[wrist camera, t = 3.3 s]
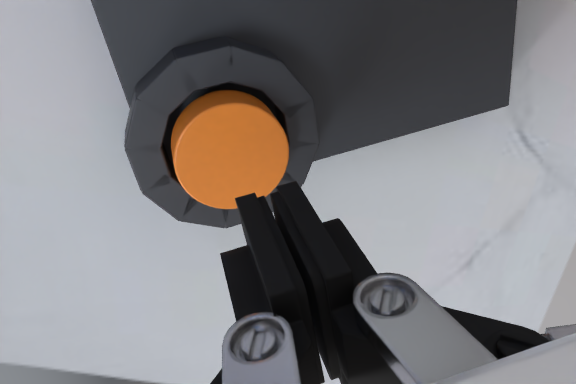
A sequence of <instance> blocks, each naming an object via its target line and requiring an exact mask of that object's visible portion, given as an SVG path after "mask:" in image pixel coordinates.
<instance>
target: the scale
mask: <svg viewBox="0 0 576 384" xmlns="http://www.w3.org/2000/svg"><path fill="white" fill-rule="evenodd" d="M91 2H92V5H93V8H94V10H95V13H96V16H97V19H98V21H99V24H100V27H101V30H102V32H103V35H104V38H105V41H106V43H107V46H108V49H109V52H110V55H111V57H112V60H113V63H114V66H115V68H116V71H117V74H118V77H119V79H120V82H121V85H122V88H123V90H124V93H125V96H126V99H127V102H128V104H129V107H130V112H129V116H128V120H127V125H126V129H125V151H126V154H127V156H128V159H129V161H130V164H131V167H132V169H133V172H134V174H135V177H136V180H137V182H138V185H139V187H140V190H141V191H142V193H143V194H144V195H145V196H146V197H148V198H149V199H150V200H152V201H153V202H154V203H156V204H157V205H158V206H159V207H161V208H162V209H163V210H165V211H166V212H167V213H169V214H170V215H171V216H173V217H174V218H175V219H177V220H178V221H182V222H188V223H195V224H201V225H207V226H214V227H220V228H228V227H232V226H235V225H238V224H242V223H241V220H240V216H239V212H238V209H237V208H236V209H220V208H214V207H210V206H208V205H205V204H203V203H201V202H199V201H197V200H196V199H194V198H193V197H191V196H190V195H189V194H188V193H187V192H186V191H185V190H184V188H183V187H182V186H181V184H180V182H179V181H178V178H177V176H176V173H175V169H174V164H173V157H172V151H171V135H172V130H173V127H174V125H175V122H176V120H177V118H178V117H179V115H180V114H181V112H182V111H183V110H184V109H185V108H186V107H187V106H188V105H189V104H190V103H191V102H193V101H194V100H196V99H197V98H199V97H201V96H203V95H205V94H207V93H210V92H214V91H219V90H237V91H242V92H245V93H248V94H250V95H252V96H254V97H256V98H258V99H259V100H260V101H262V102H263V103H264V104H265V105H266V106H267V107H268V108H269V109H270V111H271V112H272V113H273V115H274V116H275V117H276V119H277V120H278V122H279V123H280V124H281V126H282V128H283V129H284V131H285V134H286V136H287V140H288V144H289V159H288V164H287V168H286V171H285V173H284V175H283V177H282V179H281V181H280V182H279V184H278V185H277V186H279V185H283V184H286V183H290V182H293V181H297V183H298V184H299V186H300V187H301V186H302V184H304V182H305V179H306V177H307V174H308V172H309V169H310V167H311V164H312V162H313V161H316V160H319V159H323V158H326V157H330V156H333V155H337V154H340V153H344V152H347V151H351V150H354V149H358V148H361V147H365V146H368V145H372V144H375V143H379V142H382V141H386V140H389V139H393V138H396V137H400V136H403V135H407V134H410V133H414V132H417V131H421V130H424V129H428V128H431V127H435V126H439V125H442V124H446V123H449V122H453V121H456V120H460V119H463V118H467V117H470V116H474V115H477V114H481V113H484V112H488V111H491V110H495V109H498V108H502V107H505V106H508V105H509V94H510V82H511V70H512V57H513V45H514V33H515V20H516V8H517V0H91ZM274 192H277V191H276V187H275V188H274V189H273V191H272V192H271V193H274ZM271 193H269V194H268V195H267V196H266V197H265V198H266V200H267V203H268V205H269V207H270V209H271V211H272V212H273V207H272V203H271V198H270V194H271Z"/></svg>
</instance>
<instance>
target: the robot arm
mask: <svg viewBox="0 0 576 384" xmlns="http://www.w3.org/2000/svg"><path fill="white" fill-rule="evenodd" d="M276 191H277V192H274V193H271V194H270V198H271V203H272V207H273V212H274V216H275V218H274V216H273V214H272V211H271V209H270V207H269V205H268V203H267V200H266V198H265V196H260V197H257V196H256V194H255V193H251V194H248V195H244V196H241V197H237V198H235V201H236V205H237V209H238V212H239V216H240V220H241V223H242V227H243V231H244V235H245V238H246V242H247V246H243V247H240V248H237V249H233V250H230V251H227V252H223V253H220V255H221V259H222V263H223V268H224V272H225V276H226V280H227V284H228V288H229V293H230V297H231V301H232V305H233V309H234V314H235V318H236V322H235V323H234V324H233V325H232V326H231V327H230V328H229V329H228V331H227V333H226V334H225V336H224V340H223V345H222V369H221V370H220V372H219V373H218V374H217V376H216V377H215V378H214V380H213V381H212V382H211V384H321V383H324V382H325V381H324V376H323V371H322V366H321V360H320V355H321V358H322V360H323V362H324V365H325V367H326V370H327V372H328V374H329V377H330V379H331V380H333V379H336V378H339V379H340V382H341V384H576V324H573V325H565V326H558V327H550V328H546V331H545V334H539V333H537V332H536V331H533V330H531V329H528V328H525V327H522V326H518V325H514V324H510V323H506V322H502V321H498V320H494V319H490V318H486V317H482V316H478V315H474V314H470V313H466V312H462V311H458V310H454V309H450V308H446V307H442V306H440V305H439V304H438V303H437V302H436V301H435V300H434V299H433V298H432V297H431V296H429V295H428V294H427V293H426V292H425V291H424V290H423V289H422V288H421V287H420V286H419V285H418V284H417V283H416V282H414V281H413V280H411V279H410V278H408V277H406V276H403V275H400V274H395V273H380V274H377V273H376V271H375V270H374V268H373V267H372V265H371V264H370V262H369V261H368V259H367V258H366V256H365V255H364V253H363V252H362V251H361V249H360V248H359V246H358V245H357V243H356V242H355V240H354V239H353V237H352V236H351V234H350V233H349V231H348V230H347V229H346V227H345V226H344V224H343V223H342V221H341V220H340V219H338V218H337V219H334V220H330V221H327V222H324V223H322V222H321V220H320V219H319V217H318V215H317V214H316V212H315V210H314V209H313V207H312V206H311V204H310V202H309V201H308V199H307V197H306V196H305V194H304V192H303V191H302V189H301V188H300V186H299V184H298V183H297V181H293V182H290V183H286V184H283V185H279V186H276ZM319 353H320V355H319Z"/></svg>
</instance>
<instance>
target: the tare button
mask: <svg viewBox="0 0 576 384" xmlns="http://www.w3.org/2000/svg"><path fill="white" fill-rule="evenodd" d="M171 151H172V157H173V164H174V169H175V173H176V176H177V178H178V181H179V182H180V184H181V186H182V187H183V188H184V190H185V191H186V192H187V193H188V194H189V195H190V196H191V197H193V198H194V199H196V200H197V201H199V202H201V203H203V204H205V205H208V206H210V207H214V208H220V209H236V208H237V205H236V201H235V198H237V197H241V196H244V195H248V194H251V193H255V194H256V196H257V197H260V196H265V197H266V196H267V195H268V194H269V193H271V192H272V191H273V189H274V188H275V187H276V186H277V185H278V184H279V182H280V181H281V179H282V177H283V175H284V173H285V171H286V168H287V164H288V159H289V144H288V140H287V136H286V134H285V131H284V129H283V128H282V126H281V124H280V123H279V122H278V120H277V119H276V117H275V116H274V115H273V113H272V112H271V111H270V109H269V108H268V107H267V106H266V105H265V104H264V103H263V102H262V101H260V100H259V99H258V98H256V97H254V96H252V95H250V94H248V93H245V92H242V91H237V90H219V91H214V92H210V93H207V94H205V95H203V96H201V97H199V98H197V99H196V100H194V101H193V102H191V103H190V104H189V105H188V106H187V107H186V108H185V109H184V110H183V111H182V112H181V114H180V115H179V117H178V118H177V120H176V122H175V125H174V127H173V130H172V135H171Z"/></svg>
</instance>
